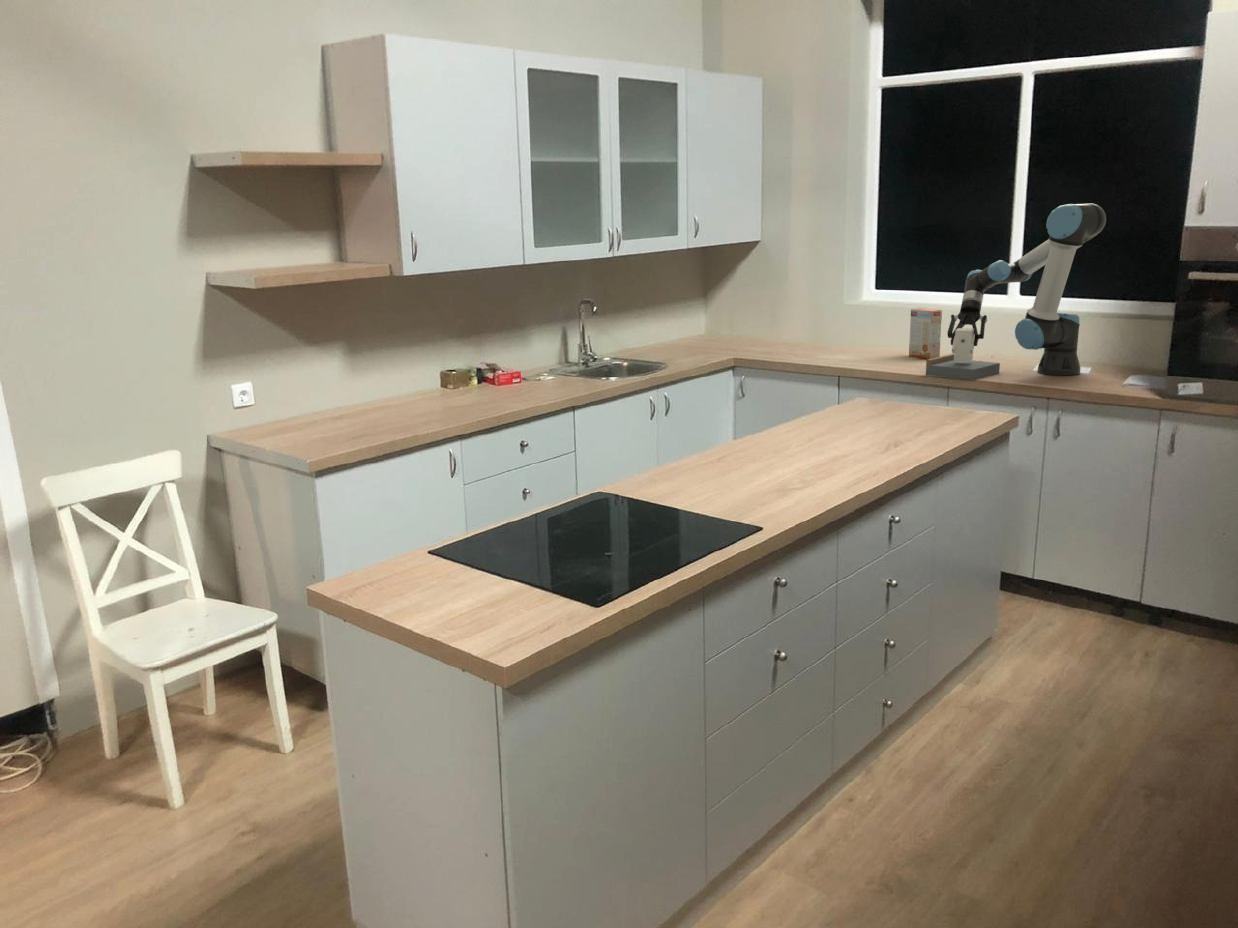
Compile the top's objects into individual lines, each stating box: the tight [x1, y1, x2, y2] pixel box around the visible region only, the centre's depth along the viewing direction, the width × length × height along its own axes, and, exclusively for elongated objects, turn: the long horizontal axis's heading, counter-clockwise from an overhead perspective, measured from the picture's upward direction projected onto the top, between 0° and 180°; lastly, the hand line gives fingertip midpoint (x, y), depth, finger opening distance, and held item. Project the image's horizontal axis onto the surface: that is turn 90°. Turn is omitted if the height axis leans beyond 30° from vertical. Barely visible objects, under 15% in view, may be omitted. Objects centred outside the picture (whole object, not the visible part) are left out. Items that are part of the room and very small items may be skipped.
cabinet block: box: [953, 327, 974, 362], centre depth 381 cm, size 6×7×12 cm
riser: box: [925, 353, 1001, 381], centre depth 383 cm, size 20×20×6 cm
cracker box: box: [908, 307, 943, 360], centre depth 426 cm, size 14×6×21 cm, turn 22°
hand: (962, 351), depth 378 cm, fingers closed on cabinet block, 6 cm apart
